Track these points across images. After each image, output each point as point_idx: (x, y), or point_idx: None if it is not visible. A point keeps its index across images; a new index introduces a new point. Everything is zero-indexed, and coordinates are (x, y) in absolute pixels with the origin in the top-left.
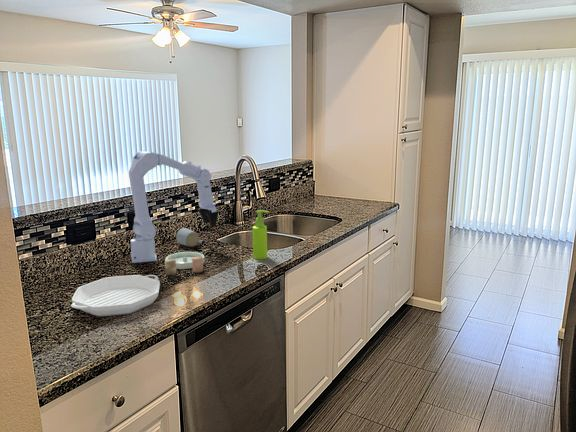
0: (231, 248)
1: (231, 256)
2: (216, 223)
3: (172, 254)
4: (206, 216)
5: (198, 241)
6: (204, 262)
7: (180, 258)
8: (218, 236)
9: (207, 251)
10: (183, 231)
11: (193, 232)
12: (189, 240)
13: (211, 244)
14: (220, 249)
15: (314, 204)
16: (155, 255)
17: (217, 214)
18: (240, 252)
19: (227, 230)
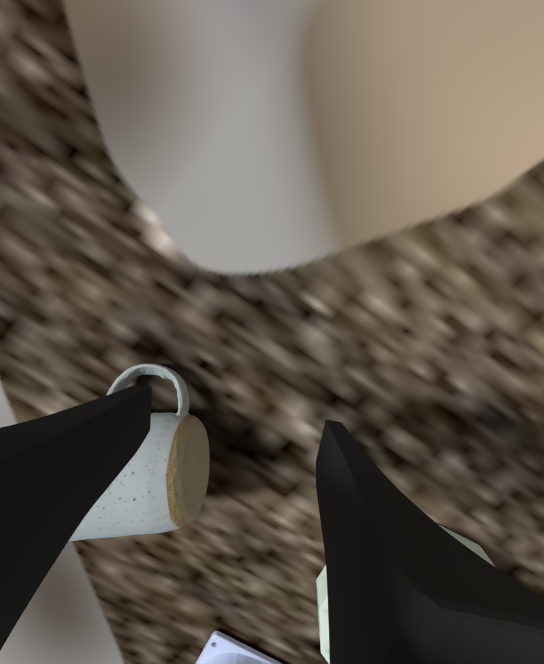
0: (383, 299)
1: (510, 392)
2: (351, 435)
3: (327, 645)
4: (94, 453)
5: (186, 409)
6: (479, 545)
7: None
8: (102, 202)
9: None
10: (105, 533)
11: (172, 495)
12: (199, 495)
13: (229, 338)
14: (351, 358)
15: None
16: (230, 646)
17: (475, 568)
18: (491, 308)
19: (3, 56)
